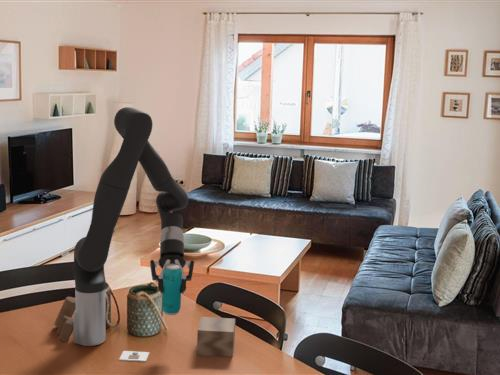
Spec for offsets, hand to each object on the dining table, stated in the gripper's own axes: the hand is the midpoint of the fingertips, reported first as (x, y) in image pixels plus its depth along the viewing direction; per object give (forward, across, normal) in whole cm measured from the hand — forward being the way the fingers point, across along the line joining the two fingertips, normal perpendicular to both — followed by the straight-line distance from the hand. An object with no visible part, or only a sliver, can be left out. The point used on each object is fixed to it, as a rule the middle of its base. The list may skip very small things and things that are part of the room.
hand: (172, 292), depth 202 cm
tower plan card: (+16, -11, +11) cm, 22 cm away
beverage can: (+4, 0, +6) cm, 8 cm away
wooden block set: (+2, -32, +26) cm, 42 cm away
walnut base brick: (+13, +14, +14) cm, 24 cm away
